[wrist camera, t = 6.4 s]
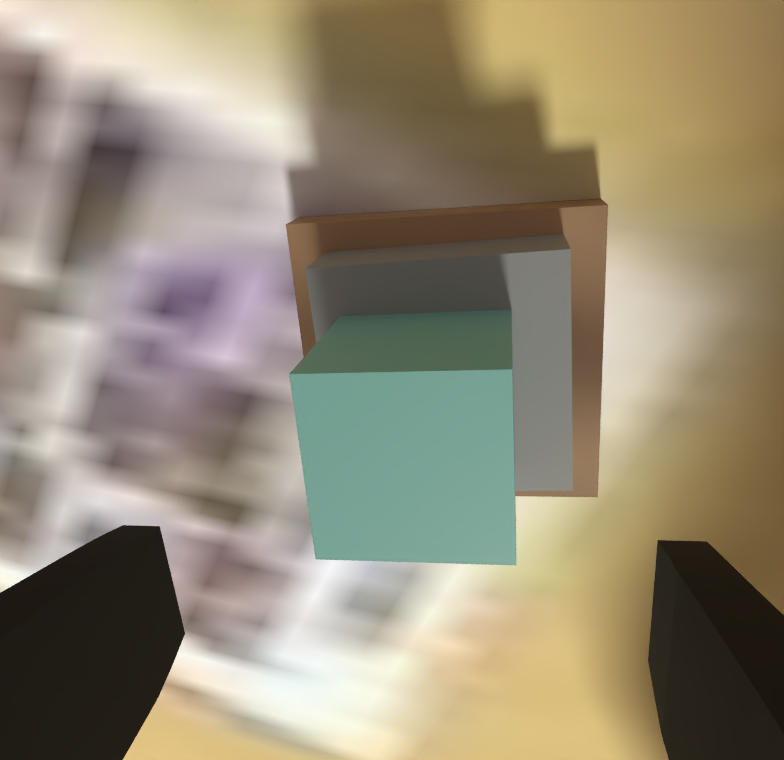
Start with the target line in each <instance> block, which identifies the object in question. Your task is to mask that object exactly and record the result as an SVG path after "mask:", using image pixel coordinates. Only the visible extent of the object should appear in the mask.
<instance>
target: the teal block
mask: <svg viewBox="0 0 784 760" xmlns="http://www.w3.org/2000/svg"><path fill="white" fill-rule="evenodd" d="M289 375H290V382H291V389H292V396H293V403H294V410H295V417H296V424H297V431H298V438H299V445H300V452H301V459H302V466H303V473H304V480H305V487H306V494H307V501H308V508H309V515H310V522H311V529H312V536H313V543H314V550H315V557H316V559H325V560H358V561H391V562H423V563H456V564H489V565H516V513H515V451H514V401H513V351H512V310H488V311H461V312H435V313H409V314H383V315H357V316H340V317H339V318H338V319H337V321H336V322H335V323H334V324H333V325H332V326H331V327H330V328H329V330H328V331H327V332H326V333H325V334H324V335H323V336H322V338H321V339H320V340H319V341H318V342H317V343H316V344H315V346H314V347H313V348H312V349H311V350H310V351H309V352H308V354H307V355H306V356H305V357H304V358H303V359H302V360H301V361H300V363H299V364H298V365H297V366H296V367H295V368H294V369H293V371H292V372H291V373H290V374H289Z"/></svg>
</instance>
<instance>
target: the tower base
mask: <svg viewBox="0 0 784 760" xmlns="http://www.w3.org/2000/svg"><path fill="white" fill-rule="evenodd" d="M607 216H608V205H607V204H606V203H605V202H604V201H603V200H602V199H589V200H572V201H556V202H540V203H524V204H507V205H491V206H475V207H458V208H442V209H426V210H410V211H393V212H377V213H361V214H345V215H328V216H312V217H300V218H298V219H296V220H294V221H292V222H290V223H288V224H286V228H287V236H288V243H289V251H290V258H291V266H292V273H293V280H294V288H295V295H296V303H297V310H298V318H299V325H300V333H301V340H302V348H303V355H304V357H305V356H306V355H307V354H308V352H309V351H310V350H311V349H312V348H313V347H314V346H315V344H316V338H315V332H314V325H313V318H312V312H311V305H310V299H309V292H308V286H307V279H306V272H305V268H306V267H308V266H309V265H310V264H311V263H313V262H314V261H315V260H317V259H318V258H319V257H320V256H322V255H323V254H324V253H326V252H334V251H347V250H360V249H373V248H385V247H398V246H411V245H424V244H437V243H450V242H463V241H475V240H488V239H501V238H514V237H527V236H540V235H553V234H564V236H565V238H566V240H567V242H568V244H569V246H570V248H571V328H572V434H573V491H515V496H552V497H598V472H599V443H600V415H601V387H602V358H603V330H604V301H605V273H606V244H607Z"/></svg>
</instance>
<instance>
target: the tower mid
mask: <svg viewBox="0 0 784 760" xmlns="http://www.w3.org/2000/svg"><path fill="white" fill-rule="evenodd" d="M305 272H306V279H307V286H308V292H309V299H310V305H311V312H312V318H313V325H314V332H315V338H316V343H317V342H318V341H319V340H320V339H321V338H322V336H323V335H324V334H325V333H326V332H327V331H328V330H329V328H330V327H331V326H332V325H333V324H334V323H335V322H336V321H337V319H338V318H339V317H340V316H357V315H383V314H409V313H435V312H461V311H488V310H512V351H513V401H514V451H515V491H573V434H572V328H571V248H570V246H569V244H568V242H567V240H566V238H565V236H564V234H553V235H540V236H527V237H514V238H501V239H488V240H475V241H463V242H450V243H437V244H424V245H411V246H398V247H385V248H373V249H360V250H347V251H334V252H326V253H324V254H323V255H322V256H320V257H319V258H318V259H317V260H315V261H314V262H313V263H311V264H310V265H309V266H308V267H306V268H305Z"/></svg>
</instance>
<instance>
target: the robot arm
mask: <svg viewBox="0 0 784 760" xmlns="http://www.w3.org/2000/svg"><path fill="white" fill-rule="evenodd" d="M184 635H185V632H184V627H183V623H182V619H181V615H180V610H179V606H178V602H177V598H176V594H175V589H174V585H173V581H172V577H171V572H170V568H169V564H168V560H167V556H166V551H165V547H164V543H163V539H162V534H161V530H160V526H126V525H123V526H121V527H119V528H117V529H114V530H112V531H110V532H108V533H106V534H104V535H102V536H100V537H98V538H96V539H94V540H93V541H91V542H89V543H87V544H85V545H83V546H82V547H80V548H78V549H76V550H74V551H73V552H71V553H69V554H67V555H66V556H64V557H62V558H60V559H58V560H57V561H55V562H53V563H52V564H50V565H48V566H46V567H45V568H43V569H41V570H39V571H38V572H36V573H34V574H32V575H31V576H29V577H27V578H25V579H24V580H22V581H20V582H18V583H17V584H15V585H13V586H11V587H10V588H8V589H6V590H5V591H3V592H1V593H0V760H123V758H124V756H125V755H126V753H127V751H128V749H129V748H130V746H131V744H132V743H133V741H134V739H135V737H136V736H137V734H138V732H139V730H140V729H141V727H142V725H143V723H144V722H145V720H146V718H147V716H148V715H149V713H150V711H151V709H152V707H153V706H154V704H155V702H156V700H157V698H158V697H159V694H160V692H161V690H162V687H163V685H164V683H165V681H166V678H167V676H168V674H169V672H170V669H171V667H172V665H173V662H174V660H175V657H176V655H177V652H178V650H179V647H180V645H181V642H182V640H183V637H184ZM648 662H649V667H650V673H651V679H652V685H653V690H654V696H655V702H656V707H657V712H658V717H659V723H660V728H661V733H662V737H663V741H664V744H665V748H666V751H667V754H668V758H669V760H784V615H783V614H782V613H781V612H780V611H778V610H777V609H776V608H775V607H774V606H773V605H772V604H771V603H770V602H769V601H768V600H767V599H766V598H765V597H764V596H763V595H762V594H761V593H760V592H758V591H757V590H756V589H755V588H754V587H753V586H752V585H751V584H750V583H749V582H748V581H747V580H746V579H745V578H744V577H743V576H742V575H741V574H740V573H739V572H738V571H737V570H736V569H735V568H734V567H733V566H732V565H731V564H730V563H728V562H727V561H726V560H725V559H724V558H723V557H722V556H721V555H720V554H719V553H718V552H717V551H716V550H715V549H714V548H713V547H712V546H711V545H710V544H709V543H708V542H701V541H665V540H658V545H657V557H656V570H655V582H654V595H653V607H652V620H651V632H650V645H649V657H648Z"/></svg>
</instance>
